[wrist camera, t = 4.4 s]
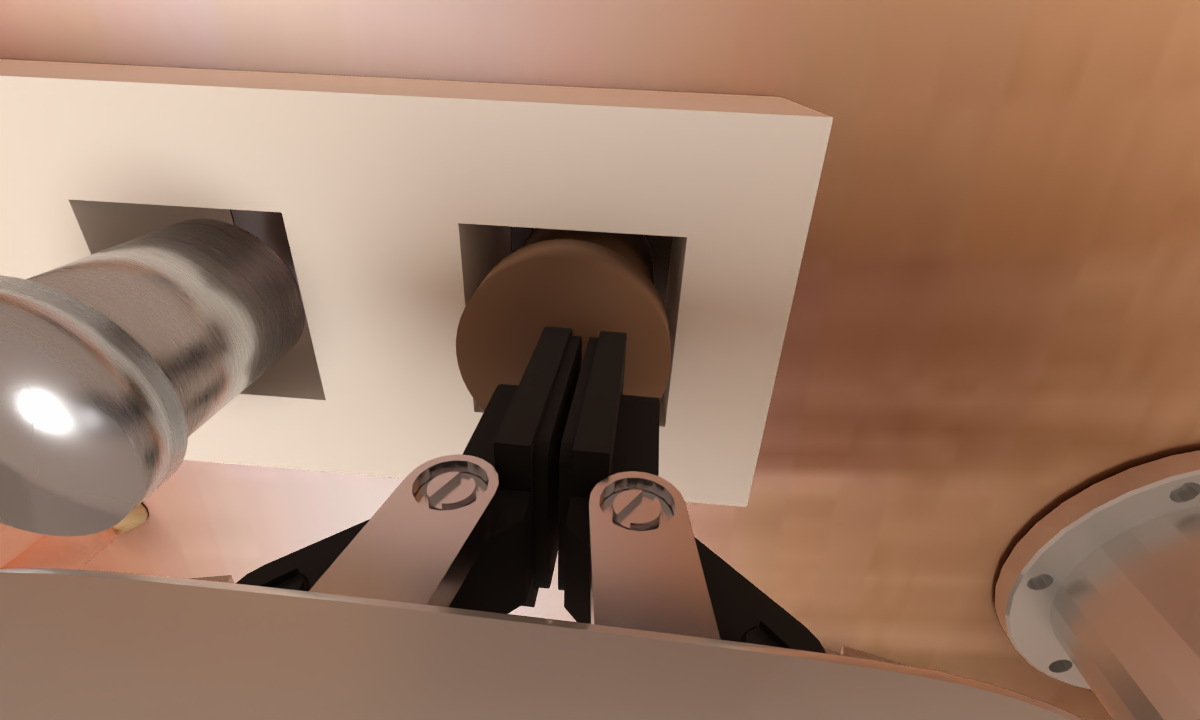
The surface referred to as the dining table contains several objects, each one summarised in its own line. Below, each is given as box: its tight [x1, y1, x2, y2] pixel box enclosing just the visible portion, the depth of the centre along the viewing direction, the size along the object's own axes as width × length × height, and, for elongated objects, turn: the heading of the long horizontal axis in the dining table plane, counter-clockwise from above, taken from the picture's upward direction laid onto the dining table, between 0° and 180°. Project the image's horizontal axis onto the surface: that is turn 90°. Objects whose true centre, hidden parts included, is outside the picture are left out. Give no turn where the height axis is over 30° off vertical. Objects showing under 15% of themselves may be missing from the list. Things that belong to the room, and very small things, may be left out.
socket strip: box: [0, 59, 833, 507], centre depth 16 cm, size 28×10×5 cm, turn 88°
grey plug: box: [0, 219, 305, 536], centre depth 12 cm, size 5×5×6 cm
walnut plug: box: [456, 228, 671, 411], centre depth 15 cm, size 5×5×6 cm
